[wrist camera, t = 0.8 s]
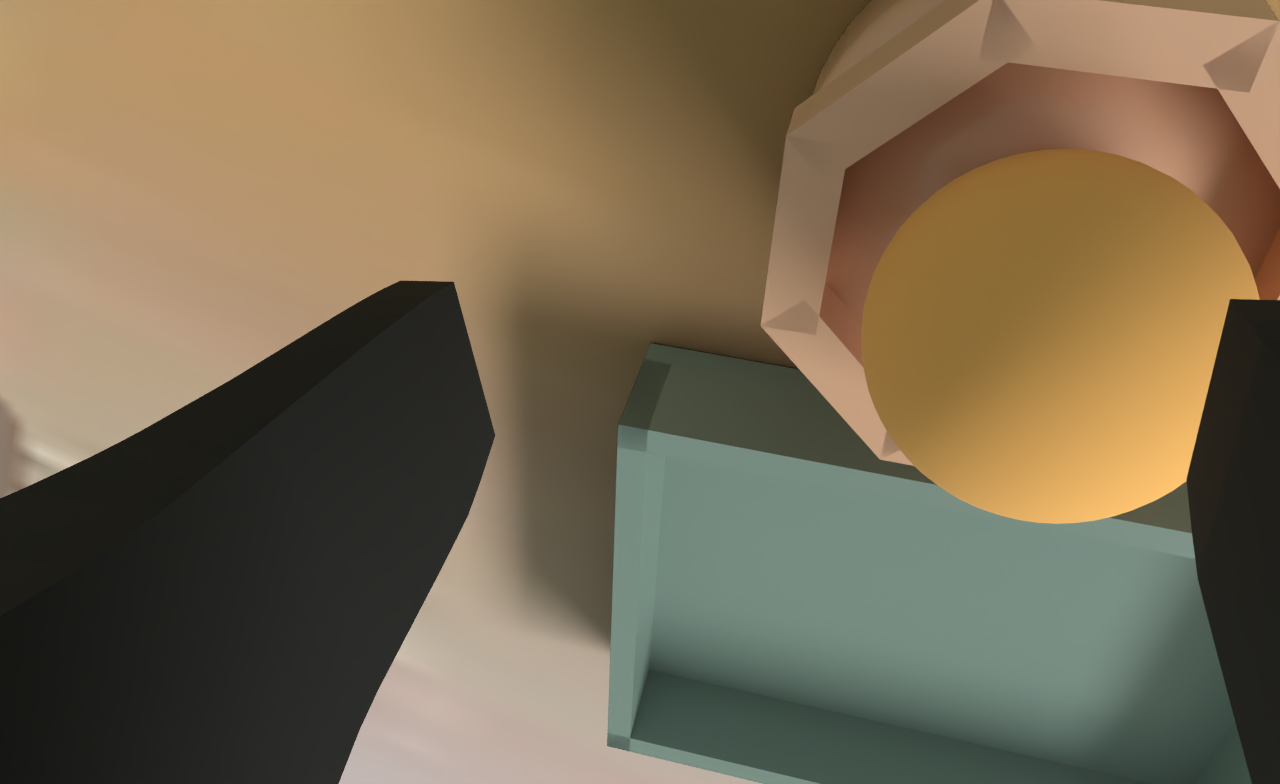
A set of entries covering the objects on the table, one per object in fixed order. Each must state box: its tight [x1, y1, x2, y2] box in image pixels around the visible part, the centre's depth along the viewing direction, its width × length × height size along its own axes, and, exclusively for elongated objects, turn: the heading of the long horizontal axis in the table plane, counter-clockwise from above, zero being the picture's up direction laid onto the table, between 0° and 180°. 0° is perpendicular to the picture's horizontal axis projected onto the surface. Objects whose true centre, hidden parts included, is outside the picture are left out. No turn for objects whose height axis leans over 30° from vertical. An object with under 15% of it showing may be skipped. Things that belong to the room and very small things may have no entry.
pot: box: [760, 0, 1280, 466], centre depth 17 cm, size 8×8×4 cm
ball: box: [861, 149, 1260, 524], centre depth 14 cm, size 5×5×5 cm
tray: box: [607, 343, 1252, 784], centre depth 24 cm, size 15×11×3 cm
